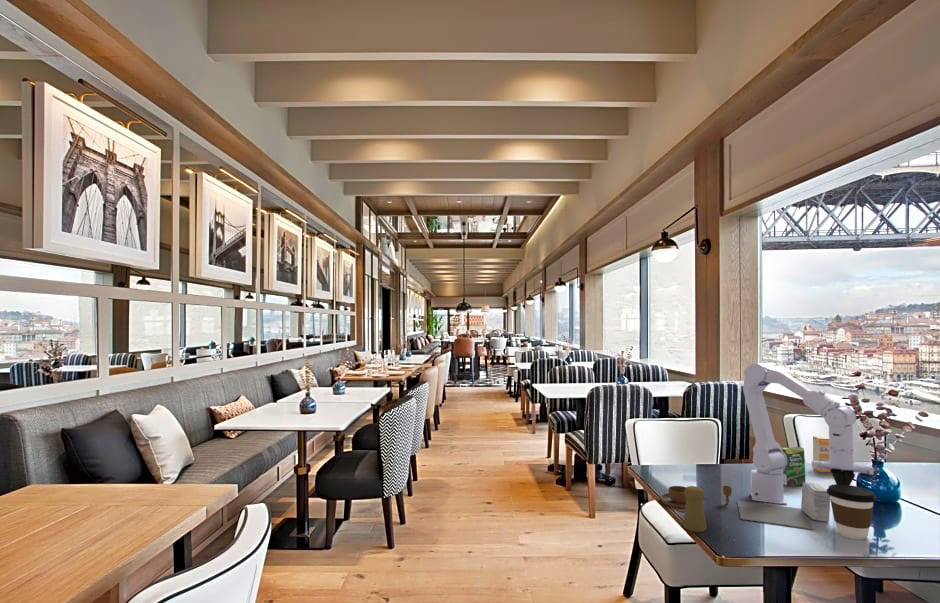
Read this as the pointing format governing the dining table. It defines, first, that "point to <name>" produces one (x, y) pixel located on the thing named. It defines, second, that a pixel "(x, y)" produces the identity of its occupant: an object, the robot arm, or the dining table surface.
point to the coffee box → (794, 467)
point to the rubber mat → (773, 514)
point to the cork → (694, 509)
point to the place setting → (679, 498)
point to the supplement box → (821, 450)
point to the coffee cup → (852, 510)
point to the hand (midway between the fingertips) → (842, 496)
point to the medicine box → (815, 501)
